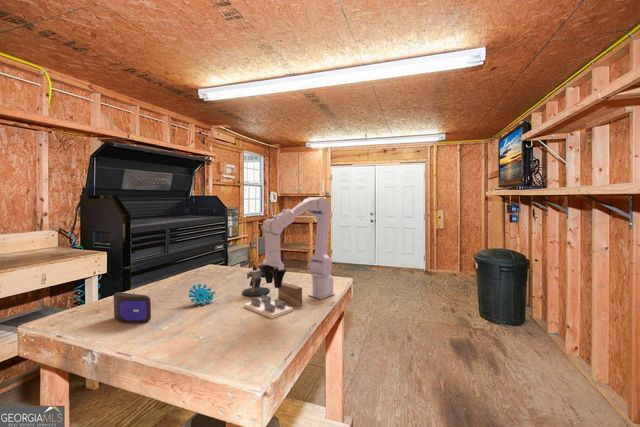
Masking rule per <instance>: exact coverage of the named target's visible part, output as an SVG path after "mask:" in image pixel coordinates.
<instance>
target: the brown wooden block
mask: <svg viewBox="0 0 640 427" xmlns="http://www.w3.org/2000/svg"><path fill="white" fill-rule="evenodd" d="M277 290H278V298H277V299H278V300H281V301H284V302H285V303H287V304H291V305H294V306H297V307H299V306H301V305H303V287H300V286H298V285H294V284H291V283H287V282H284V281H282V284H281V287H280V288H277Z"/></svg>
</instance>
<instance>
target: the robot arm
mask: <svg viewBox="0 0 640 427" xmlns="http://www.w3.org/2000/svg"><path fill="white" fill-rule="evenodd" d="M302 200H303V201H301V202H299V203H298V204H297V205H296V206H294V207H293V208H292V209H285V208H284V209H281V212H279V213H278V214H276V215H275V214H274V215H272V218H266V219H265V220H264V222H263V223H262V225H261V230H262V232H263V234H264V247H265V248H264V250H265V251H264V252H265V255H264V256H265V257H264V258H263V259H262V265H260V266H261V268H262V270H263V272H264V275H265V278H264V279H265V282H266V284H267V285H268V284H272V283H273V285H274V288H275V289H278V288H280V287H281V284H282V282H283V279H284V276H285V274H286V272H287V269H286V268H285V264H284V263H283V262H282V260H281V234H282V232H283V231H284V228H286V227H287V226H289V225H291V224H292V223H294V222H295V220H296V218H297V217H298V216H299V215H301V214H303V213H305V212H306V211H308V212H309V213H310V214H311V215H313V216H314V217H315V218H316V219H317V220H316V232H315V234H316V235H315V245H314V246H315V248H314V254H312V255H311V256H310V261H309V263H308V271H309V273H310V276H311V277H312V278H311V280H312V282H311V284H312V288H311V290H312V293H309V294H307V295H308V296H309V297H312V298H316V299H319V300H322V299H326V298H329V297H331V296H333V295H335V292H334V279H333V276H332V275H331V274H332V272H333V265H332V258H331V257H330V256H329V255H328V246H329V244H328V243H329V233H330V232H329V231H330V230H329V229H330V218H331V217H330V209H331V208H330V207H331V206H330V205H331V203H330V201H329V200H328V198H327V197H326V196H316V197H311V196H308V197H306V198H305V199H302ZM274 268H275V269H274Z"/></svg>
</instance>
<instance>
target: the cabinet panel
mask: <svg viewBox="0 0 640 427" xmlns="http://www.w3.org/2000/svg"><path fill="white" fill-rule="evenodd" d="M258 299H259V300H260V306H259V307H258V306H255V305H253V304H251V301H250V302H245V303H243V307H244V308H246V309H248V310H250V311H253V312H255V313H258V314H260V315H262V316H265V317H266V318H268V319H275V318H277V317H281V316H284V315H286V314H288V313H291V312H293V310H294V309H293V307H291V306H288V305H286V304H285V308H284V309H282V308H279V307H277V306H275V312H270V311H268V310H265V309H264V303H266V302H263V301H261V298H258ZM270 304H272V305H275V300H271V303H270Z"/></svg>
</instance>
